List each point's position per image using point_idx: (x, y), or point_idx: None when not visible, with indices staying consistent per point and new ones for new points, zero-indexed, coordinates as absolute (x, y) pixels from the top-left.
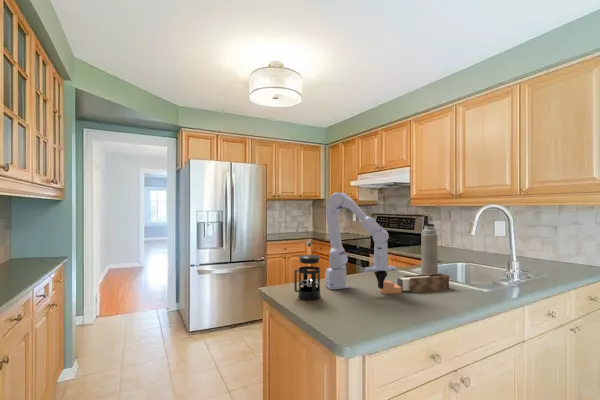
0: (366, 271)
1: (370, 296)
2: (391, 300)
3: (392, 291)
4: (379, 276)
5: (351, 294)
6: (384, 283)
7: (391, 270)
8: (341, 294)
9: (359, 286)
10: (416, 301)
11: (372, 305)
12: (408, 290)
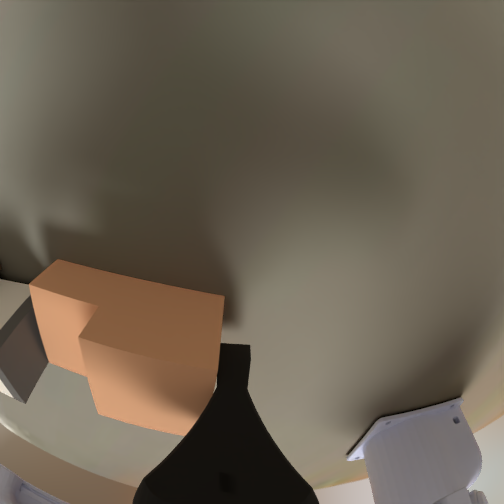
0: (468, 499)
1: (402, 256)
2: (286, 60)
3: (127, 287)
4: (298, 476)
5: (461, 327)
6: (195, 383)
7: (48, 502)
8: (490, 333)
9: (296, 436)
10: (62, 6)
11: (500, 61)
12: (4, 280)
